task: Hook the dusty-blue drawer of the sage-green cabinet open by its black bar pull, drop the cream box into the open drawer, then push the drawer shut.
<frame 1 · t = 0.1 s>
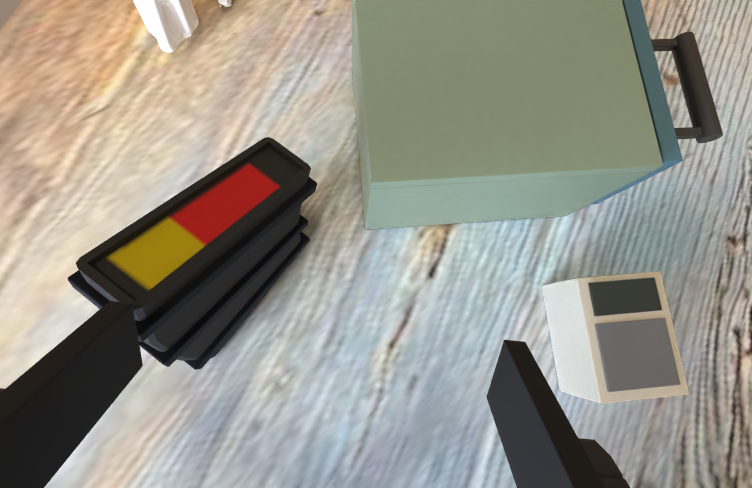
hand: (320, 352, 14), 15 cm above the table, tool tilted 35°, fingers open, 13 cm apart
shaker set: (206, 11, 34), on the table
drawer: (550, 105, 28), point 5 cm above the table, slide at 1.0 cm
cabinet: (456, 142, 33), on the table
black switch panel: (256, 276, 30), on the table
cream box: (586, 333, 30), on the table
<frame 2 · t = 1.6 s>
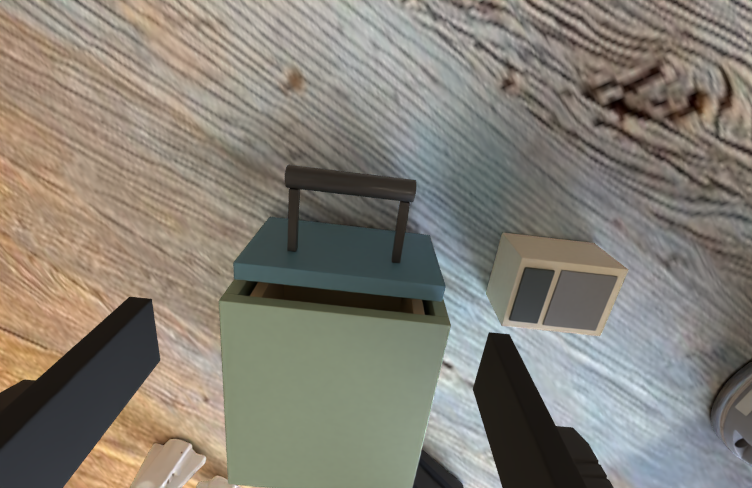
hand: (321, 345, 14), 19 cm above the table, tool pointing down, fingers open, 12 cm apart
shaker set: (206, 462, 44), on the table
drawer: (340, 305, 29), point 5 cm above the table, slide at 1.0 cm
cabinet: (340, 326, 36), on the table
black switch panel: (418, 458, 44), on the table
cream box: (538, 268, 34), on the table
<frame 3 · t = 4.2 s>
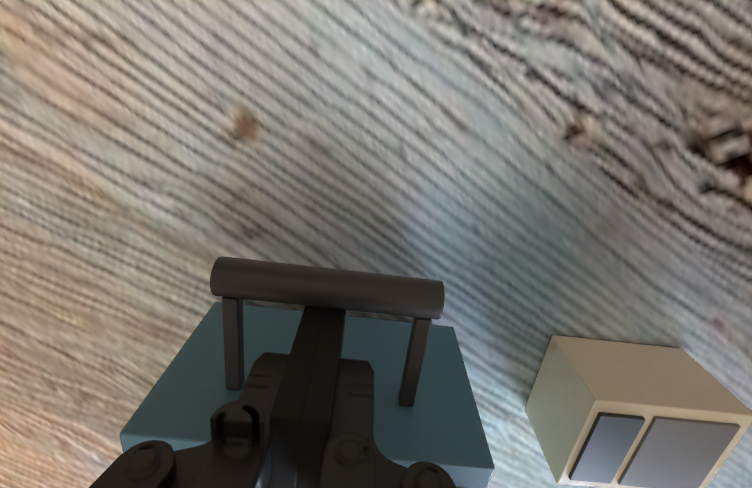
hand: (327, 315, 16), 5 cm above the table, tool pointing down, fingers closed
drawer: (319, 444, 19), point 5 cm above the table, slide at 2.1 cm, touching gripper
cream box: (599, 380, 24), on the table
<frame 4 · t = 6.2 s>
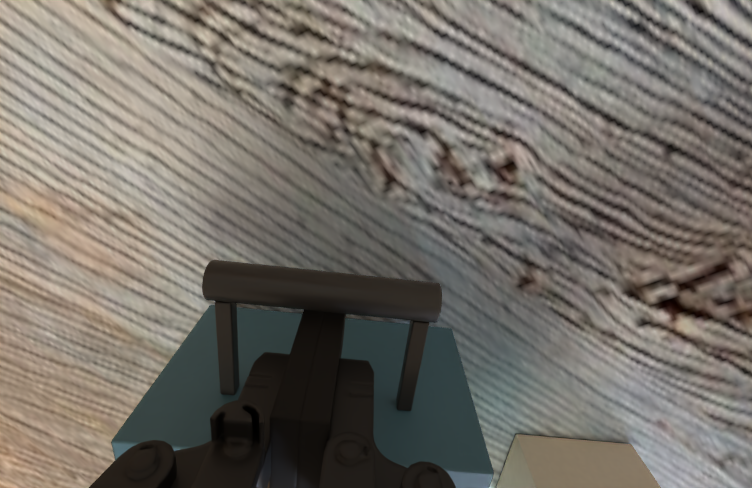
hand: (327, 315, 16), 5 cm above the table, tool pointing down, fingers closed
drawer: (316, 448, 19), point 5 cm above the table, slide at 10.2 cm
cream box: (560, 468, 27), on the table
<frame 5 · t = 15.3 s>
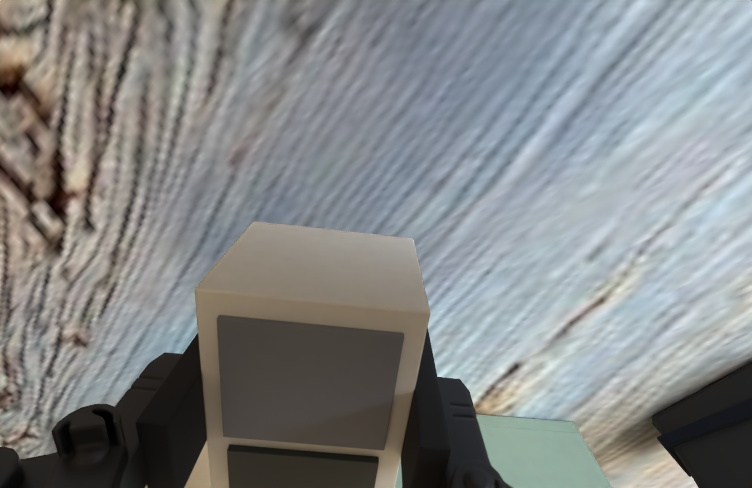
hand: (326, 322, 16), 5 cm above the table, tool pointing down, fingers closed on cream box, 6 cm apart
cabinet: (429, 485, 28), on the table
black switch panel: (716, 394, 25), on the table
cream box: (327, 318, 16), point 5 cm above the table, touching gripper
when the fingers open (7 cm above the table, at t = 20.3 s): cream box drops 5 cm, resting on drawer.
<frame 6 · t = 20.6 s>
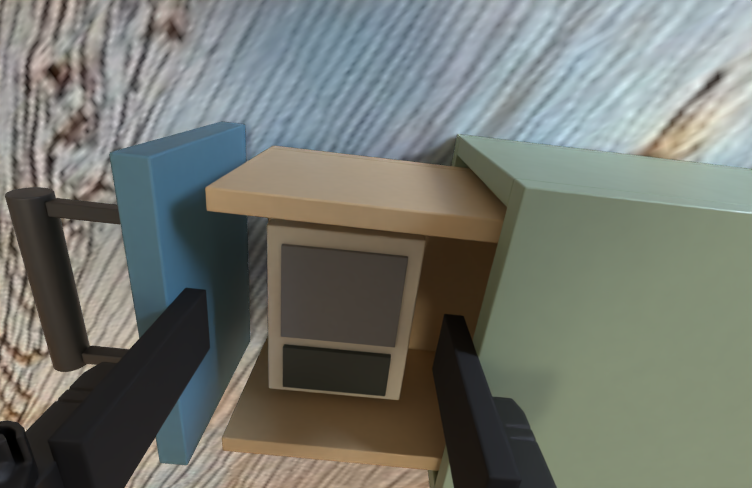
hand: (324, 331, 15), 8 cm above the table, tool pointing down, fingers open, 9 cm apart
drawer: (300, 291, 18), point 5 cm above the table, slide at 10.5 cm, touching cream box, gripper
cabinet: (573, 274, 23), on the table
cream box: (349, 267, 20), point 2 cm above the table, touching drawer
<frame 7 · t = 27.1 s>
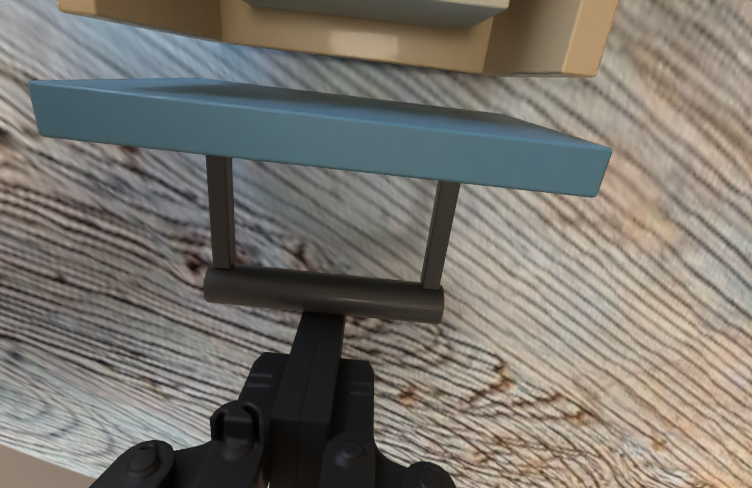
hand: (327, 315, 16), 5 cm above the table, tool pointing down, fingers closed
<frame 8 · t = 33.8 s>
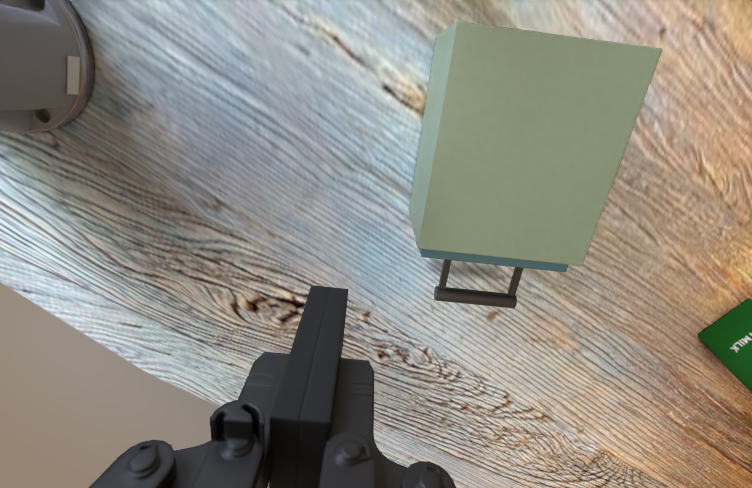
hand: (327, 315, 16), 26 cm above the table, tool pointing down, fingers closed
milk carton: (736, 331, 48), on the table
drawer: (494, 197, 36), point 5 cm above the table, slide at 0.0 cm, touching cabinet, cream box
cabinet: (491, 138, 39), on the table
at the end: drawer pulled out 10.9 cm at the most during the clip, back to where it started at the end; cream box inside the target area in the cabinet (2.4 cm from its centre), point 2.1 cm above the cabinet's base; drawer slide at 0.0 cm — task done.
